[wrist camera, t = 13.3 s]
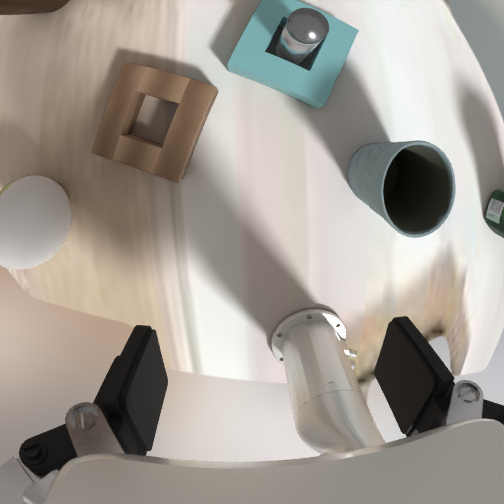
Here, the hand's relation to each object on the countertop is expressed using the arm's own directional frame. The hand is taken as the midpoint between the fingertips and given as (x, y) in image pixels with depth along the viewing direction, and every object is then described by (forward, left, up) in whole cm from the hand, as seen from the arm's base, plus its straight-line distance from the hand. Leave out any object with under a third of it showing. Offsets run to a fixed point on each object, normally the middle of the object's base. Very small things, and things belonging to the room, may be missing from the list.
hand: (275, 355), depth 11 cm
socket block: (+3, -20, -28) cm, 35 cm away
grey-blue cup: (-14, -10, -29) cm, 33 cm away
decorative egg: (+28, +12, -29) cm, 42 cm away
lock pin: (+3, -20, -28) cm, 35 cm away
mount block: (+15, -5, -28) cm, 32 cm away
